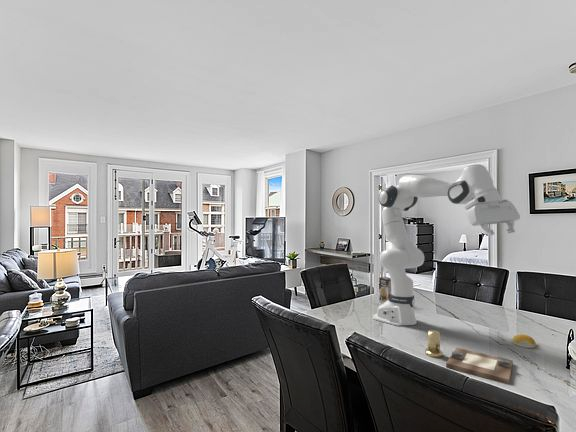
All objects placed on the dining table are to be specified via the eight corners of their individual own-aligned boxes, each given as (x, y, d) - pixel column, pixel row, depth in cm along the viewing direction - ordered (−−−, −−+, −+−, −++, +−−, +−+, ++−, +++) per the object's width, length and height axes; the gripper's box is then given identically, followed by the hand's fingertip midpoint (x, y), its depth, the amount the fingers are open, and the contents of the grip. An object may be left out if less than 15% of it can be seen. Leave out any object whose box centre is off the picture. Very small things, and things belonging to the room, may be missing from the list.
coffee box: (378, 301, 207) (378, 277, 207) (387, 301, 209) (386, 276, 209) (387, 305, 198) (387, 279, 198) (396, 304, 201) (396, 279, 201)
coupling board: (446, 367, 116) (446, 358, 116) (456, 351, 130) (456, 343, 130) (508, 384, 104) (508, 374, 104) (512, 364, 118) (512, 355, 118)
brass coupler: (423, 354, 127) (423, 332, 127) (427, 349, 132) (427, 328, 132) (440, 359, 123) (440, 336, 123) (444, 353, 127) (444, 331, 128)
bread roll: (535, 343, 138) (535, 334, 138) (536, 350, 131) (536, 340, 131) (512, 339, 143) (512, 330, 143) (511, 345, 136) (511, 336, 136)
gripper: (503, 202, 129) (517, 234, 124) (460, 206, 125) (473, 239, 120) (515, 195, 124) (531, 228, 119) (471, 199, 119) (485, 233, 114)
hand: (501, 233), depth 119 cm, fingers open, 8 cm apart
